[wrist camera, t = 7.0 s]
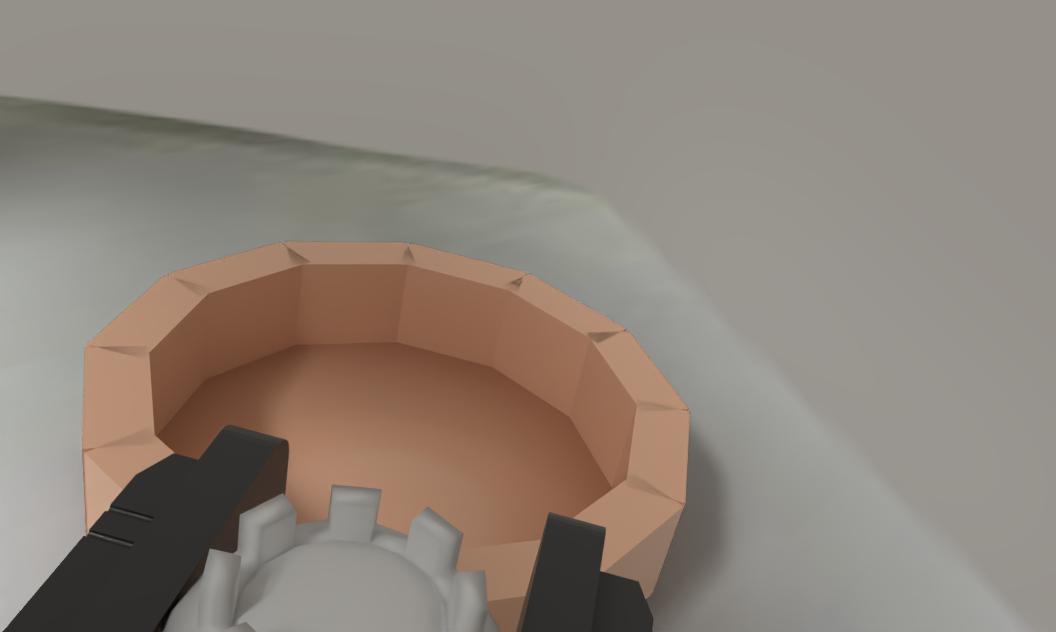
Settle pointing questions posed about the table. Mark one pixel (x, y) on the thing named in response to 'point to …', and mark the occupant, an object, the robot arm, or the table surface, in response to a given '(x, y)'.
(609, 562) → the dish
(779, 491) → the table surface
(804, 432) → the table surface
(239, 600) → the rook chess piece
